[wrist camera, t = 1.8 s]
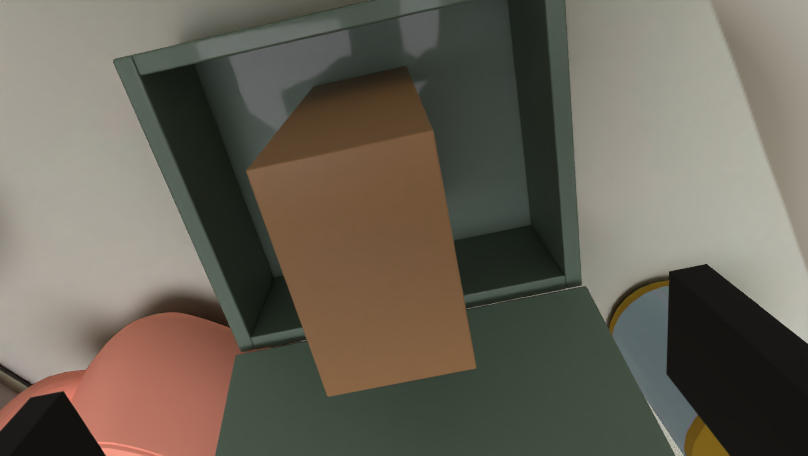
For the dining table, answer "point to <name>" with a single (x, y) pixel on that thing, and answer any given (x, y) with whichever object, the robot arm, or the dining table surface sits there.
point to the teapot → (151, 387)
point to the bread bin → (446, 110)
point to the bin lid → (458, 396)
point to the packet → (365, 234)
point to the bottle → (659, 367)
